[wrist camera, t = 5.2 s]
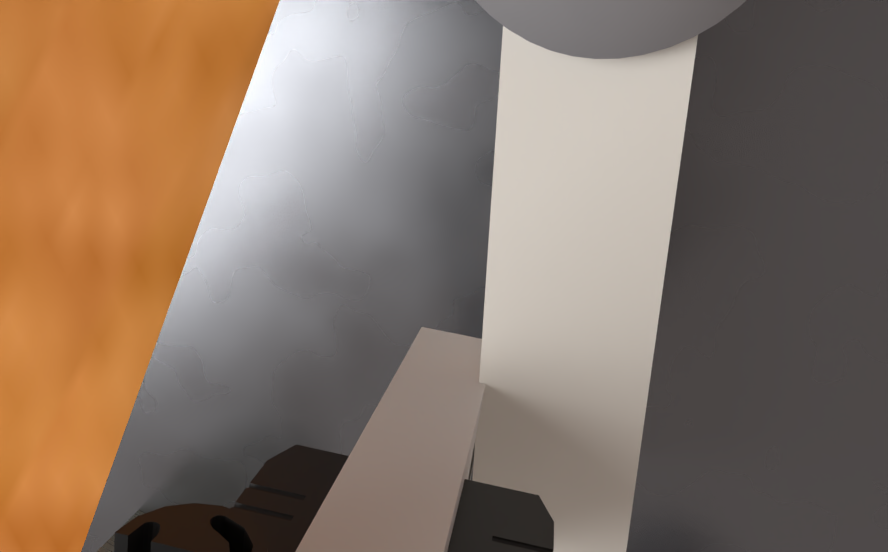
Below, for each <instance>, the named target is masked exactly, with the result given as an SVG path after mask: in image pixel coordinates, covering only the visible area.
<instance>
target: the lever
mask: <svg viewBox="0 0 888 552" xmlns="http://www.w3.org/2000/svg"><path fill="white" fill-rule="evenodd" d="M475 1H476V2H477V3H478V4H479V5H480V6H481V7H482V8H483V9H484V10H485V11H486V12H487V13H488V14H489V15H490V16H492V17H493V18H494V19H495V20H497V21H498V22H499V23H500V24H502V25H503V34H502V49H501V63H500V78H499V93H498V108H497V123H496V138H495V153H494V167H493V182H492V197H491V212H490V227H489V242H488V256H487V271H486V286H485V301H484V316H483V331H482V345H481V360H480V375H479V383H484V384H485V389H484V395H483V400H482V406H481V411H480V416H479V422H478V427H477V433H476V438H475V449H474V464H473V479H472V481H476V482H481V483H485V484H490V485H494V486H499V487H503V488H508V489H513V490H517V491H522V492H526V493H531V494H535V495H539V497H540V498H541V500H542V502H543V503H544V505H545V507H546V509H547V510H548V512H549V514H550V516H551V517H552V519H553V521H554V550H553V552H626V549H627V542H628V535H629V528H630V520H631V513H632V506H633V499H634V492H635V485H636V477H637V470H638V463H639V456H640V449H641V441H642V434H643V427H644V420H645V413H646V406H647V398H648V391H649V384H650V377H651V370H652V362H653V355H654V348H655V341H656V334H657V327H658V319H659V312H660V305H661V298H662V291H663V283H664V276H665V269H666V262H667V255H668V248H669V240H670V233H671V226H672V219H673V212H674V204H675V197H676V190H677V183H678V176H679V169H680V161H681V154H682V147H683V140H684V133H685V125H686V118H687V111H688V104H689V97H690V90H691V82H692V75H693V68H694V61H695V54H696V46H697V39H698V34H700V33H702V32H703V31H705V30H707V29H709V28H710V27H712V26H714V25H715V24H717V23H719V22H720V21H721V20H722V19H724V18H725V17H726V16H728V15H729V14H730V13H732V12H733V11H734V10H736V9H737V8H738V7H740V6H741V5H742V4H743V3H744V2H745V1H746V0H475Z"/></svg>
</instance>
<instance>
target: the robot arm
mask: <svg viewBox="0 0 888 552" xmlns="http://www.w3.org/2000/svg"><path fill="white" fill-rule="evenodd" d="M481 345H482V339H480V338H475V337H470V336H465V335H460V334H455V333H450V332H445V331H440V330H435V329H430V328H425V327H421V329H420V331H419V333H418V334H417V336H416V338H415V340H414V342H413V343H412V345H411V347H410V349H409V350H408V352H407V354H406V356H405V358H404V359H403V361H402V363H401V365H400V366H399V368H398V370H397V372H396V374H395V375H394V377H393V379H392V381H391V382H390V384H389V386H388V388H387V390H386V391H385V393H384V395H383V397H382V398H381V400H380V402H379V404H378V406H377V407H376V409H375V411H374V413H373V414H372V416H371V418H370V420H369V422H368V423H367V425H366V427H365V429H364V430H363V432H362V434H361V436H360V438H359V439H358V441H357V443H356V445H355V446H354V448H353V450H352V452H351V454H350V455H349V456H347V455H342V454H338V453H333V452H329V451H324V450H320V449H315V448H311V447H306V446H302V445H297V444H296V445H294V446H292V447H291V448H289V449H287V450H285V451H283V452H281V453H280V454H278V455H276V456H274V457H272V458H270V459H269V460H267V461H266V463H265V464H264V465H263V466H262V468H261V469H260V470H259V472H258V473H257V474H256V476H255V477H254V478H253V479H252V481H251V482H250V485H249V488H246V489H245V490H244V491H243V492H242V494H241V495H240V496H239V498H238V499H237V500H236V502H235V505H234V507H231V508H230V509H229V508H227V507H224V506H219V505H210V504H200V503H189V504H181V505H173V506H165V507H162V508H159V509H156V510H154V511H151V512H148V513H145V514H142V515H140V516H137V517H135V518H134V519H133V520H131V521H130V522H128V523H127V524H126V525H124V526H123V527H121V528H120V529H119V530H117V531H116V532H115V540H114V552H553V550H554V521H553V519H552V517H551V516H550V514H549V512H548V510H547V509H546V507H545V505H544V503H543V502H542V500H541V498H540V497H539V495H535V494H531V493H526V492H522V491H517V490H513V489H508V488H503V487H499V486H494V485H490V484H485V483H481V482H476V481H472V480H471V475H472V469H473V464H474V449H475V438H476V433H477V427H478V422H479V416H480V411H481V406H482V400H483V395H484V389H485V384H484V383H479V375H480V360H481Z"/></svg>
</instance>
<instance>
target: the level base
mask: <svg viewBox="0 0 888 552" xmlns="http://www.w3.org/2000/svg"><path fill="white" fill-rule="evenodd" d="M502 34H503V25H502V24H500V23H499V22H498V21H497V20H495V19H494V18H493V17H492V16H490V15H489V14H488V13H487V12H486V11H485V10H484V9H483V8H482V7H481V6H480V5H479V4H478V3H477V2H476V1H475V0H280V2H279V5H278V7H277V10H276V13H275V16H274V18H273V21H272V24H271V27H270V30H269V32H268V35H267V38H266V41H265V43H264V46H263V49H262V52H261V55H260V57H259V60H258V63H257V66H256V68H255V71H254V74H253V77H252V80H251V82H250V85H249V88H248V91H247V93H246V96H245V99H244V102H243V104H242V107H241V110H240V113H239V116H238V118H237V121H236V124H235V127H234V129H233V132H232V135H231V138H230V141H229V143H228V146H227V149H226V152H225V154H224V157H223V160H222V163H221V166H220V168H219V171H218V174H217V177H216V179H215V182H214V185H213V188H212V191H211V193H210V196H209V199H208V202H207V204H206V207H205V210H204V213H203V215H202V218H201V221H200V224H199V227H198V229H197V232H196V235H195V238H194V240H193V243H192V246H191V249H190V252H189V254H188V257H187V260H186V263H185V265H184V268H183V271H182V274H181V277H180V279H179V282H178V285H177V288H176V290H175V293H174V296H173V299H172V301H171V304H170V307H169V310H168V313H167V315H166V318H165V321H164V324H163V326H162V329H161V332H160V335H159V338H158V340H157V343H156V346H155V349H154V351H153V354H152V357H151V360H150V363H149V365H148V368H147V371H146V374H145V376H144V379H143V382H142V385H141V388H140V390H139V393H138V396H137V399H136V401H135V404H134V407H133V410H132V412H131V415H130V418H129V421H128V424H127V426H126V429H125V432H124V435H123V437H122V440H121V443H120V446H119V449H118V451H117V454H116V457H115V460H114V462H113V465H112V468H111V471H110V474H109V476H108V479H107V482H106V485H105V487H104V490H103V493H102V496H101V498H100V501H99V504H98V507H97V510H96V512H95V515H94V518H93V521H92V523H91V526H90V529H89V532H88V535H87V537H86V540H85V543H84V546H83V548H82V551H81V552H114V540H115V532H116V531H117V530H119V529H120V528H121V527H123V526H124V525H126V524H127V523H128V522H130V521H131V520H133V519H134V518H135V517H137V516H140V515H142V514H145V513H148V512H151V511H154V510H156V509H159V508H162V507H165V506H173V505H181V504H189V503H200V504H210V505H219V506H224V507H227V508H229V509H230V508H231V507H234V505H235V502H236V500H237V499H238V498H239V496H240V495H241V494H242V492H243V491H244V490H245V489H246V488H249V485H250V482H251V481H252V479H253V478H254V477H255V476H256V474H257V473H258V472H259V470H260V469H261V468H262V466H263V465H264V464H265V463H266V461H267V460H269V459H270V458H272V457H274V456H276V455H278V454H280V453H281V452H283V451H285V450H287V449H289V448H291V447H292V446H294V445H296V444H297V445H302V446H306V447H311V448H315V449H320V450H324V451H329V452H333V453H338V454H342V455H347V456H349V455H350V454H351V452H352V450H353V448H354V446H355V445H356V443H357V441H358V439H359V438H360V436H361V434H362V432H363V430H364V429H365V427H366V425H367V423H368V422H369V420H370V418H371V416H372V414H373V413H374V411H375V409H376V407H377V406H378V404H379V402H380V400H381V398H382V397H383V395H384V393H385V391H386V390H387V388H388V386H389V384H390V382H391V381H392V379H393V377H394V375H395V374H396V372H397V370H398V368H399V366H400V365H401V363H402V361H403V359H404V358H405V356H406V354H407V352H408V350H409V349H410V347H411V345H412V343H413V342H414V340H415V338H416V336H417V334H418V333H419V331H420V329H421V327H425V328H430V329H435V330H440V331H445V332H450V333H455V334H460V335H465V336H470V337H475V338H480V339H482V331H483V316H484V301H485V286H486V271H487V256H488V242H489V227H490V212H491V197H492V182H493V167H494V153H495V138H496V123H497V108H498V93H499V78H500V63H501V49H502ZM472 479H473V469H472V475H471V480H472ZM626 552H888V0H746V1H745V2H744V3H743V4H742V5H741V6H740V7H738V8H737V9H736V10H734V11H733V12H732V13H730V14H729V15H728V16H726V17H725V18H724V19H722V20H721V21H720V22H719V23H717V24H715V25H714V26H712V27H710V28H709V29H707V30H705V31H703V32H702V33H700V34H698V39H697V46H696V54H695V61H694V68H693V75H692V82H691V90H690V97H689V104H688V111H687V118H686V125H685V133H684V140H683V147H682V154H681V161H680V169H679V176H678V183H677V190H676V197H675V204H674V212H673V219H672V226H671V233H670V240H669V248H668V255H667V262H666V269H665V276H664V283H663V291H662V298H661V305H660V312H659V319H658V327H657V334H656V341H655V348H654V355H653V362H652V370H651V377H650V384H649V391H648V398H647V406H646V413H645V420H644V427H643V434H642V441H641V449H640V456H639V463H638V470H637V477H636V485H635V492H634V499H633V506H632V513H631V520H630V528H629V535H628V542H627V549H626Z"/></svg>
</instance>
